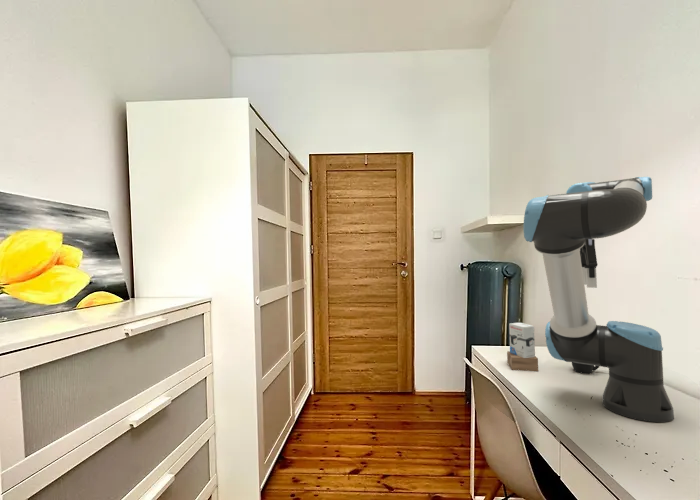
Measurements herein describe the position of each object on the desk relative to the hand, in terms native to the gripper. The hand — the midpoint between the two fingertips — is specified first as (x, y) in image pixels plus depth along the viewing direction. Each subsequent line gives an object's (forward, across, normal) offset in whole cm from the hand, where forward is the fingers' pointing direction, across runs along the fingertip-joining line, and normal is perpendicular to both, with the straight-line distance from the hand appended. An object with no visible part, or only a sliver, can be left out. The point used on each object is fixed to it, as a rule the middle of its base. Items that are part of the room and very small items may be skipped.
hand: (588, 286), depth 125 cm
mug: (+32, +5, 0) cm, 32 cm away
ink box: (+27, +2, +22) cm, 35 cm away
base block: (+32, +2, +22) cm, 39 cm away
